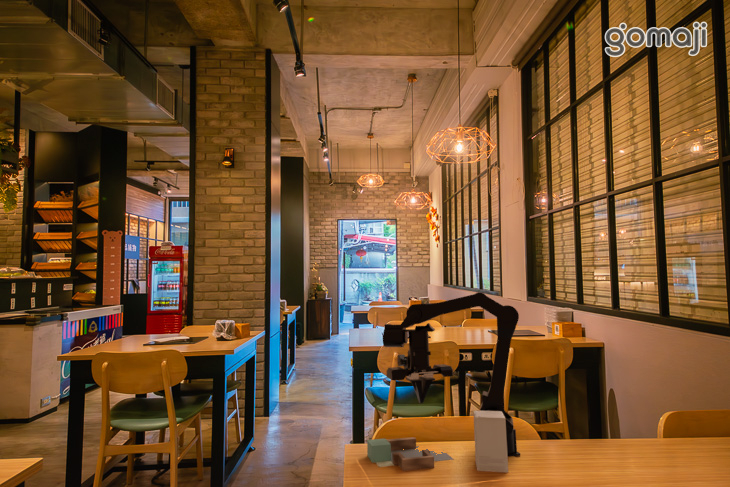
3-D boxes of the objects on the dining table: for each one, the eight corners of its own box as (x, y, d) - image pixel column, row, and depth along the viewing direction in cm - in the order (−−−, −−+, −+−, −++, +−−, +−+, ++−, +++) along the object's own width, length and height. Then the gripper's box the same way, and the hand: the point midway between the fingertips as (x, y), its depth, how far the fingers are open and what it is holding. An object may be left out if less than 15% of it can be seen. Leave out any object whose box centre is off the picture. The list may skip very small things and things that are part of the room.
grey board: (436, 445, 122) (436, 444, 122) (454, 460, 110) (453, 459, 110) (367, 452, 117) (367, 450, 117) (378, 468, 106) (378, 466, 106)
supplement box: (509, 474, 101) (506, 418, 103) (476, 472, 103) (474, 416, 104) (505, 462, 108) (502, 410, 110) (475, 460, 110) (472, 409, 111)
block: (385, 454, 115) (385, 438, 115) (391, 460, 110) (390, 444, 110) (367, 455, 113) (367, 440, 114) (372, 462, 109) (371, 446, 109)
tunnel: (414, 447, 120) (414, 437, 121) (436, 468, 105) (435, 456, 105) (381, 450, 118) (381, 440, 119) (399, 472, 103) (398, 460, 103)
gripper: (437, 343, 135) (439, 395, 133) (380, 346, 130) (381, 399, 128) (452, 346, 124) (455, 402, 122) (391, 350, 120) (393, 408, 118)
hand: (421, 403), depth 123 cm, fingers closed
